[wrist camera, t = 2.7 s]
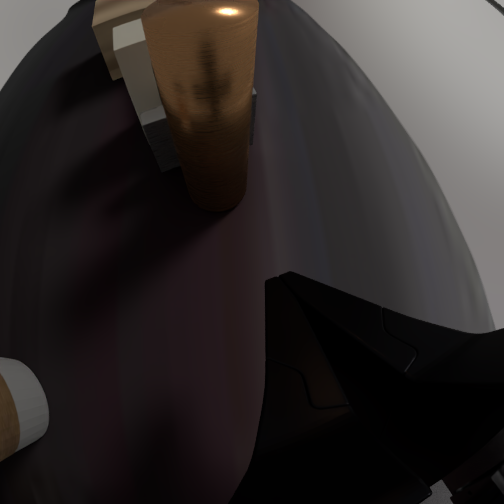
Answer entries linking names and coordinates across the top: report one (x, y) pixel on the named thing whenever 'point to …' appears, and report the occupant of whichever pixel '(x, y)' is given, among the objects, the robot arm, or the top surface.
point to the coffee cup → (20, 407)
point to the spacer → (136, 66)
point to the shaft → (203, 94)
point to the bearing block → (112, 15)
